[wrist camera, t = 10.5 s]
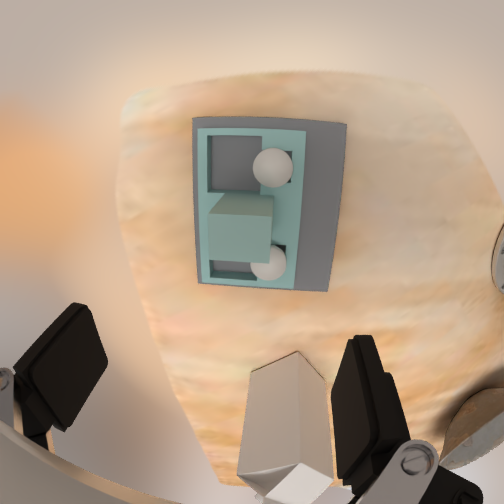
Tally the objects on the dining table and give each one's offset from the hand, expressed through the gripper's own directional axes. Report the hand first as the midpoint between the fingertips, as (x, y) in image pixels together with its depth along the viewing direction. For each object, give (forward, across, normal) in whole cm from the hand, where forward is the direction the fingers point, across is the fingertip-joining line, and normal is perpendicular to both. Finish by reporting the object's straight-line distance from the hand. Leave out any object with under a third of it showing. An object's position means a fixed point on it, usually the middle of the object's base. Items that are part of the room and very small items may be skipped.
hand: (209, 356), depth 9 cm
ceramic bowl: (+19, -45, +34) cm, 60 cm away
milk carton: (+19, -5, +22) cm, 29 cm away
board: (+18, -1, 0) cm, 19 cm away
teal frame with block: (+17, 0, 0) cm, 17 cm away
